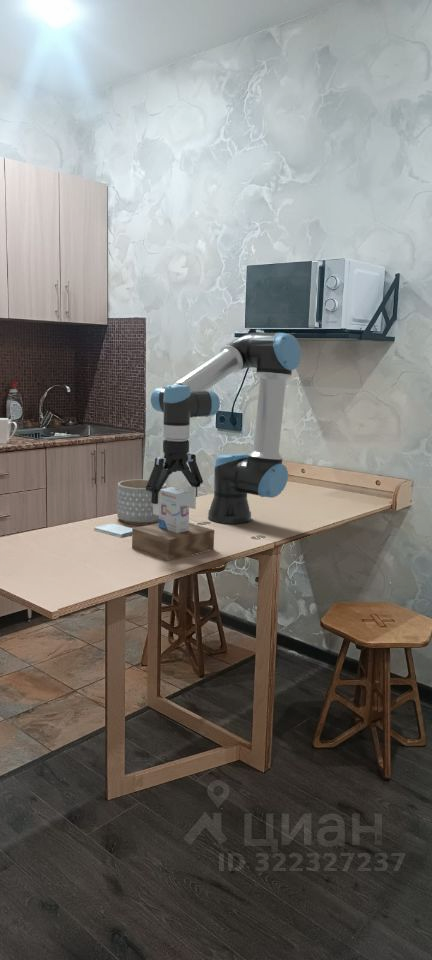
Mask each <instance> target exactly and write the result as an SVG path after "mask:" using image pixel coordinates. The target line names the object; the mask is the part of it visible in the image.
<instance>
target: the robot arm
mask: <svg viewBox="0 0 432 960" xmlns="http://www.w3.org/2000/svg"><path fill="white" fill-rule="evenodd" d="M301 359H302V351H301V346H300V343H299V342H298V340H297V338H296V337H295V336H294V335H293V334H291V333H287V332H286V333H285V332H251V333H247V334H244V335H242V336H240V337H238V338H236V339H234V340H232V341H231V342H229V343H227V344H225V345H224V346H223V347H222V348H221V349H220V352H219V353H218V354H216V355H215V356H213V357H212V358H210V359H208V360H207V361H206V362H204V363H202V365H200V366H198V367H196V368H195V369H193V370H192V371H191V372H189V373H187V374H186V375H185V376H183V377H182V378H180V379H178V380H177V381H175V382H174V383H173V384H168V385H166V386H165V387H164V386H163V387H157V388H155V389H154V390H153V391H152V393H151V395H150V404H151V407H152V408H153V410H155V411H156V412H161V413H163V424H162V425H163V426H162V427H163V428H162V430H163V431H162V432H163V433H162V437H163V438H164V439H163V440H162V452H163V454H164V456H163V457H158V456H156V457H155V458H154V464H153V465H154V466H153V468H152V469H151V473H150V476H149V478H148V480H149V481H148V483H147V486H146V490H148V491H151V493H152V503H153V514H155V515H159V516H160V515H161V493H160V492H159V491H160V490H161V488H162V486H163V485H164V483H165V484H166V481H167V480H168V478H169V476H170V475H171V474H173V473H176V472H181V474H183V476H184V478H186V480H187V482H188V483H189V485H187V491H188V492H189V509H193V510H196V508H197V500H196V499H197V497H198V488H200V487H201V484H203V483H204V481H203V478H202V475H201V472H200V471H201V470H200V468H199V466H198V463H197V456H196V454H195V453H194V454H193V453H189V452H190V441H189V439H190V425H191V423H190V422H191V420H190V419H191V418H199V417H201V418H202V417H206V418H208V417H210V416H211V417H212V416H214V415H216V414H217V413H218V411H219V410H220V407H221V400H220V397H219V395H218V394H217V393H216V392H214V391H213V390H209V389H210V388H212V387H214V386H215V385H217V383H219V382H220V381H221V380H224V379H225V378H227V377H228V376H229V375H231V374H232V373H238V372H241V370H243V369H251V368H255V369H256V374H257V376H258V377H259V387H258V388H259V389H258V397H257V406H256V407H257V408H256V418H255V429H254V437H253V447H252V451H251V452H249V453H228V454H219V455H217V456H216V458H215V464H214V477H213V478H214V484H213V486H214V487H213V499H212V501H211V505H210V508H209V510H208V513H207V516H208V517H207V519H208V520H210V521H212V522H215V523H219V524H220V523H221V524H231V525H232V524H233V525H234V524H238V525H239V524H244V523H248V522H250V521H251V520H252V512H251V509H250V506H249V501H248V495H255V496H259V497H261V498H271V499H272V498H276V497H277V496H279V495H280V494H281V493H282V492H283V491H284V490H285V488H286V486H287V483H288V478H289V471H288V468H287V467H286V465H285V464H283V457H282V455H281V454H280V452H279V451H280V445H281V444H280V442H281V435H282V434H281V433H282V424H283V416H284V415H283V413H284V404H285V395H286V385H287V381H288V379H290V378H291V377H292V373H293V372H292V371H294V370H296V369H297V368H298V366H299V365H300V362H301Z"/></svg>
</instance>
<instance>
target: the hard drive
mask: <svg viewBox="0 0 432 960" xmlns="http://www.w3.org/2000/svg"><path fill="white" fill-rule="evenodd" d="M132 528H133V527H129V526H125V525H121V524H116V523H107V524H102V525H99V526H95V527H94V528H93V531H96V532H99V533H102V532H103V534H107V535H110V536H114V537H118V538H125V537H129V536H132Z"/></svg>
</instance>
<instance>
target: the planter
mask: <svg viewBox="0 0 432 960" xmlns="http://www.w3.org/2000/svg"><path fill="white" fill-rule="evenodd" d="M148 481H149V479H127V480H121V481H119V482H118V483H117V510H116V511H117V514H116V515H117V518H118V519H119V520H121V521H122V522H124V523H125V524H130V525H138V526H140V525H142V526H147V525H152V524H157V523H159V515H155V514H153V503H152V493H151V491H148V490H146V486H147V483H148ZM165 488H167V484H166V482H165V483H164V485H163V486H162V488H161V489H165Z"/></svg>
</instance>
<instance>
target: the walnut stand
mask: <svg viewBox="0 0 432 960" xmlns="http://www.w3.org/2000/svg"><path fill="white" fill-rule="evenodd" d="M131 528H132V535H131V537H132V538H131V539H132V540H131V549H134V550H137V551H140V552H143V553H145V554H148V555H152V556H154V557H156V558H160V559H163V560H165V561H168V562H169V561H173V560H177V559H180V558H181V559H182V558H186V557H188V556H193V555H197V554H196V553H198V554H201V552H202V553H205V551H206V552H209V551H214V550H215V549H214V548H215V547H214V546H215V529H211V528H209V527H205V526H203V525H199V524H195V523H192V522H189V530H188V531H185V532H180V533H175V532H172V531H169V530H165V529H162V528H159V522H158V523H155V524H149V525H142V526H137V527H131ZM192 554H193V555H192Z"/></svg>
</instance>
